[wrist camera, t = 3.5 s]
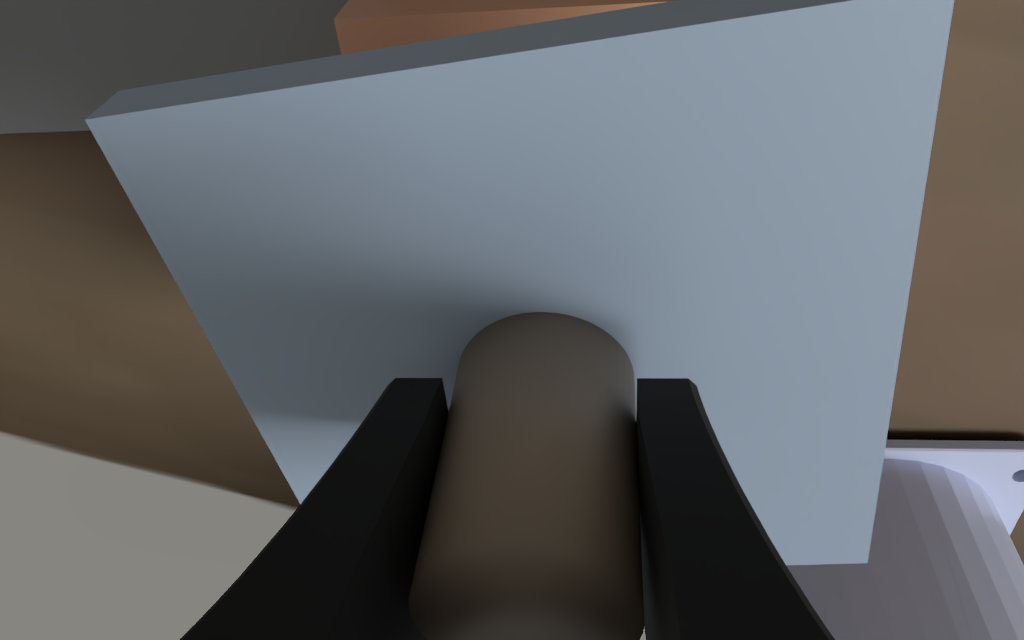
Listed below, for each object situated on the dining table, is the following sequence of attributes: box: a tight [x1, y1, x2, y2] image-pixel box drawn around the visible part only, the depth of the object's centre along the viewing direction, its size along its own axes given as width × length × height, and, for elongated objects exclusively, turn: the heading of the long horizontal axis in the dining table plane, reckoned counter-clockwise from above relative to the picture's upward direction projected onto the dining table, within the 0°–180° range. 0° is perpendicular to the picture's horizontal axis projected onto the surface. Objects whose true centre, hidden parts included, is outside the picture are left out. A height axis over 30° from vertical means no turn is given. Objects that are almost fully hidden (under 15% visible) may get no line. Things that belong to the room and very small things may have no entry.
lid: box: [85, 0, 954, 640], centre depth 10 cm, size 9×9×4 cm
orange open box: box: [334, 0, 675, 55], centre depth 16 cm, size 8×8×4 cm
